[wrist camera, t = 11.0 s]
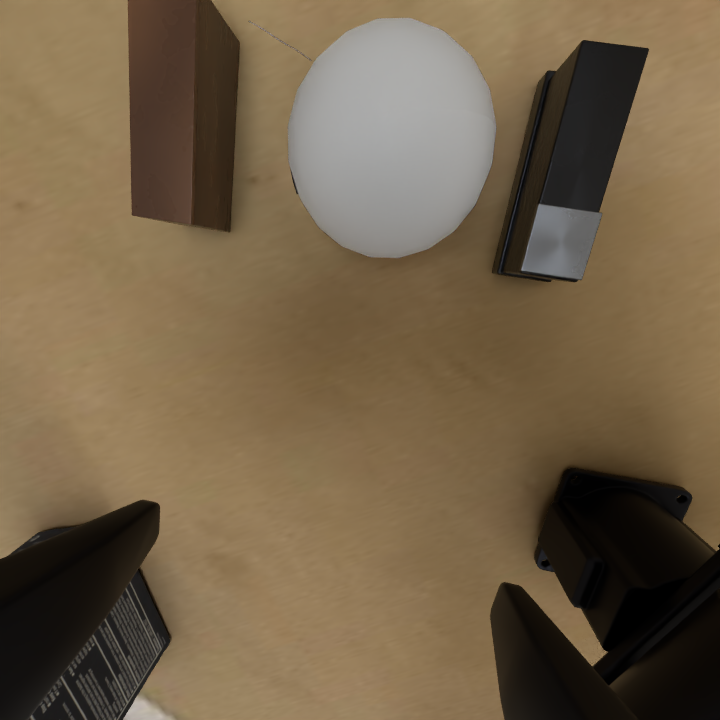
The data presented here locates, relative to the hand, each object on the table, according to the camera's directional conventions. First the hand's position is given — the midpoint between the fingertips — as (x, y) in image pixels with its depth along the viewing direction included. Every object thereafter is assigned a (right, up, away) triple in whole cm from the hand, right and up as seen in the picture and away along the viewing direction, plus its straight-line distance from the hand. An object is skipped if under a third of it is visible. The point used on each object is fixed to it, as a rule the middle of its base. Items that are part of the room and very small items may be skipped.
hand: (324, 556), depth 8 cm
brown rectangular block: (-6, +15, +8) cm, 18 cm away
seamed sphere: (+1, +14, +8) cm, 17 cm away
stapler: (+9, +12, +8) cm, 17 cm away
